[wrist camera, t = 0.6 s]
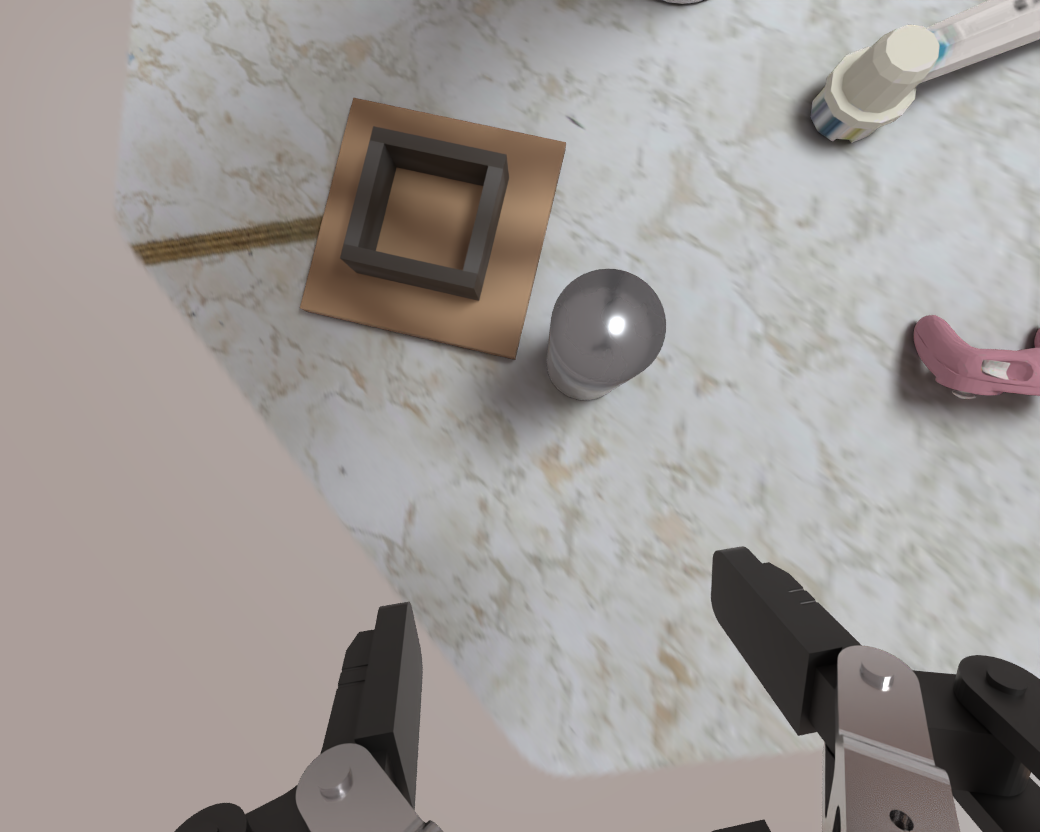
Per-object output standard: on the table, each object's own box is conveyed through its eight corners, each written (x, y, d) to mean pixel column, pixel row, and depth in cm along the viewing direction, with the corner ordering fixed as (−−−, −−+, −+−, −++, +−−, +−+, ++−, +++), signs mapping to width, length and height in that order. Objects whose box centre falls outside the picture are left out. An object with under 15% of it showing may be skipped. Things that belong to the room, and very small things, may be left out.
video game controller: (889, 372, 37) (959, 410, 31) (912, 311, 35) (991, 338, 29) (1027, 379, 37) (1126, 419, 30) (1057, 318, 35) (1170, 347, 29)
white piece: (1220, -36, 32) (904, 89, 29) (1094, 49, 39) (825, 158, 36) (1182, -106, 33) (864, 11, 30) (1062, -10, 39) (793, 94, 36)
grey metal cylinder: (556, 316, 37) (565, 257, 25) (631, 333, 36) (677, 282, 24) (538, 390, 37) (539, 367, 25) (614, 408, 36) (651, 394, 24)
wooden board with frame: (358, 106, 38) (337, 67, 34) (565, 150, 37) (568, 115, 33) (306, 311, 37) (278, 296, 33) (515, 359, 37) (512, 350, 33)
